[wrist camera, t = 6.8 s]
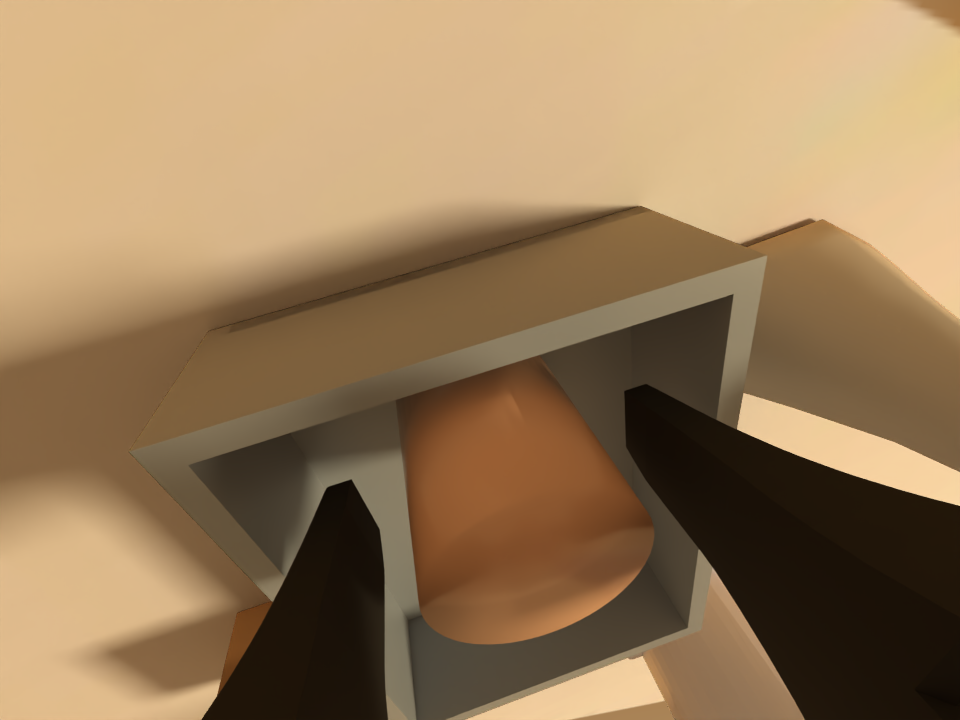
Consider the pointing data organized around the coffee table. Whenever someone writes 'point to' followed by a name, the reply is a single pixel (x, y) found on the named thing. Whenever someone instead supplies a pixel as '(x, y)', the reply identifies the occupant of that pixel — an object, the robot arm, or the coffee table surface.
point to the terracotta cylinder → (514, 507)
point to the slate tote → (444, 359)
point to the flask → (856, 342)
